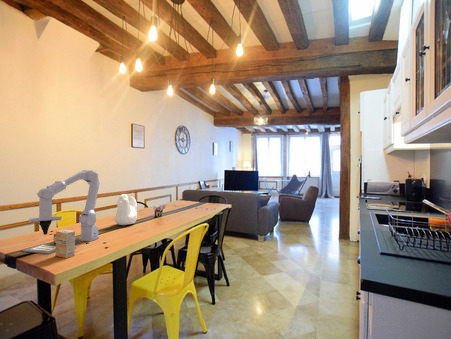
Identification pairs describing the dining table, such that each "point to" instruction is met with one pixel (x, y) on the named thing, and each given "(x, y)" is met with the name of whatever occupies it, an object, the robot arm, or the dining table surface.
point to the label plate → (41, 249)
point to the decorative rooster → (126, 210)
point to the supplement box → (65, 243)
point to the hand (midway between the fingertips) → (45, 234)
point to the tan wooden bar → (75, 240)
